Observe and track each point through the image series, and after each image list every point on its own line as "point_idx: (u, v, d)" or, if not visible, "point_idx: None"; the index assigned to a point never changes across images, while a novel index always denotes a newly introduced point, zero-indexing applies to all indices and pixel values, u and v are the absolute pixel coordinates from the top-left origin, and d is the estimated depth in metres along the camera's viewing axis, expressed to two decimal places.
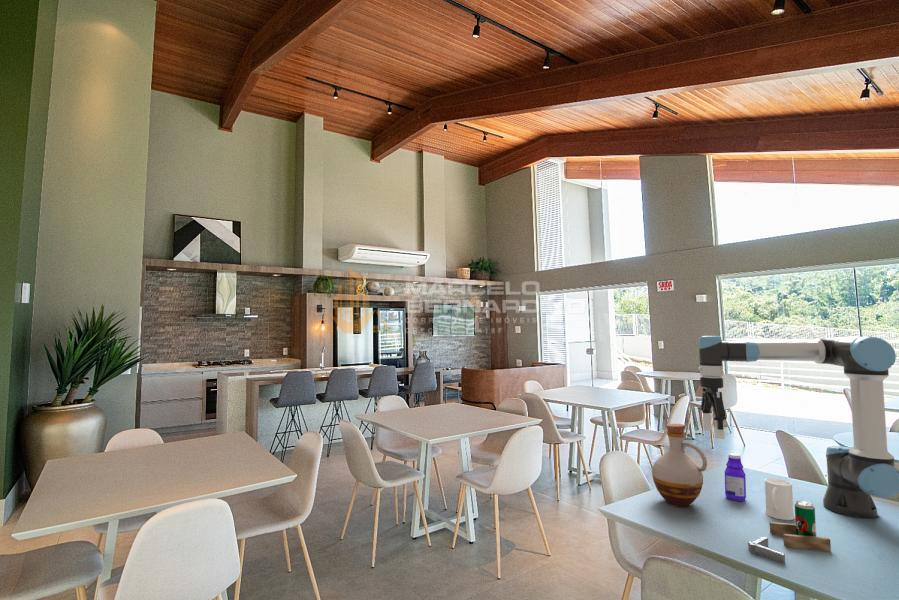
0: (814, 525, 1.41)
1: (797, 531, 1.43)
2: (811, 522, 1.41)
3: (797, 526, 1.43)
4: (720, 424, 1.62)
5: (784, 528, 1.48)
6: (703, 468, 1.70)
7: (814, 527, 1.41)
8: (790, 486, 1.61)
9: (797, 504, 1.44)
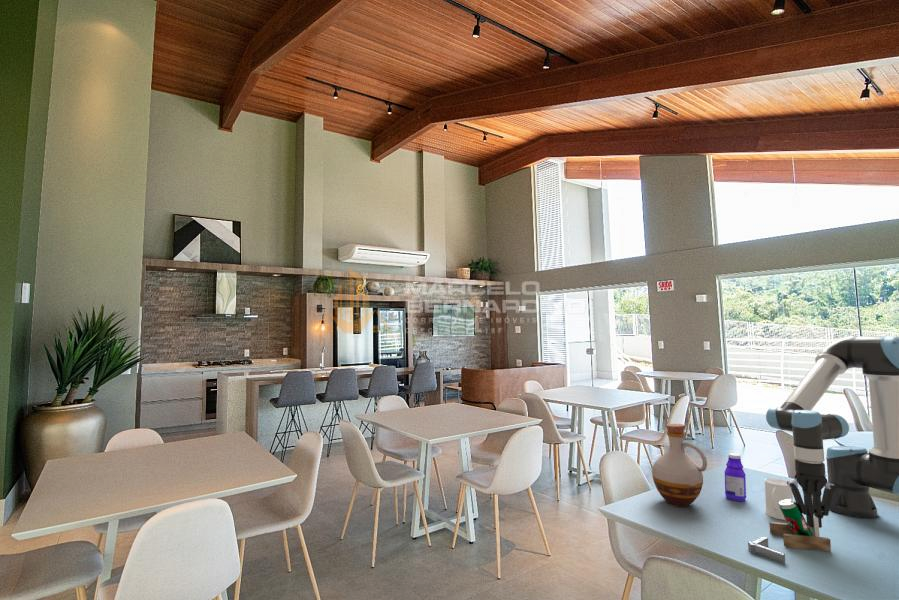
0: (803, 521, 1.41)
1: (792, 532, 1.43)
2: (799, 519, 1.41)
3: (790, 527, 1.44)
4: (807, 520, 1.43)
5: (784, 528, 1.48)
6: (703, 468, 1.70)
7: (804, 523, 1.41)
8: None
9: (780, 506, 1.45)
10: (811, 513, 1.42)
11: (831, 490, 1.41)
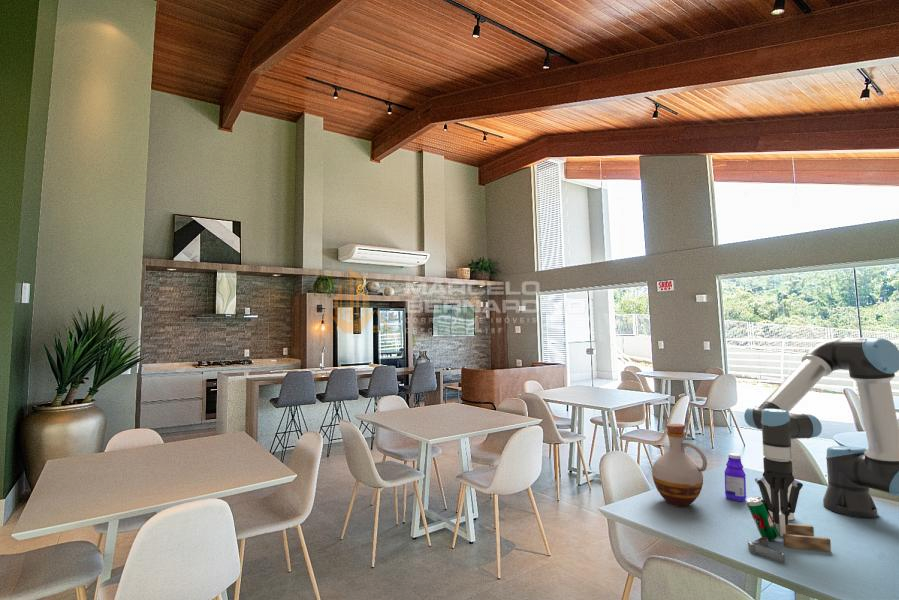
0: (769, 518, 1.44)
1: (758, 529, 1.45)
2: (766, 516, 1.43)
3: (756, 524, 1.46)
4: (773, 516, 1.45)
5: None
6: (703, 468, 1.70)
7: (770, 520, 1.43)
8: (790, 486, 1.61)
9: (748, 503, 1.47)
10: (777, 510, 1.44)
11: (798, 488, 1.43)
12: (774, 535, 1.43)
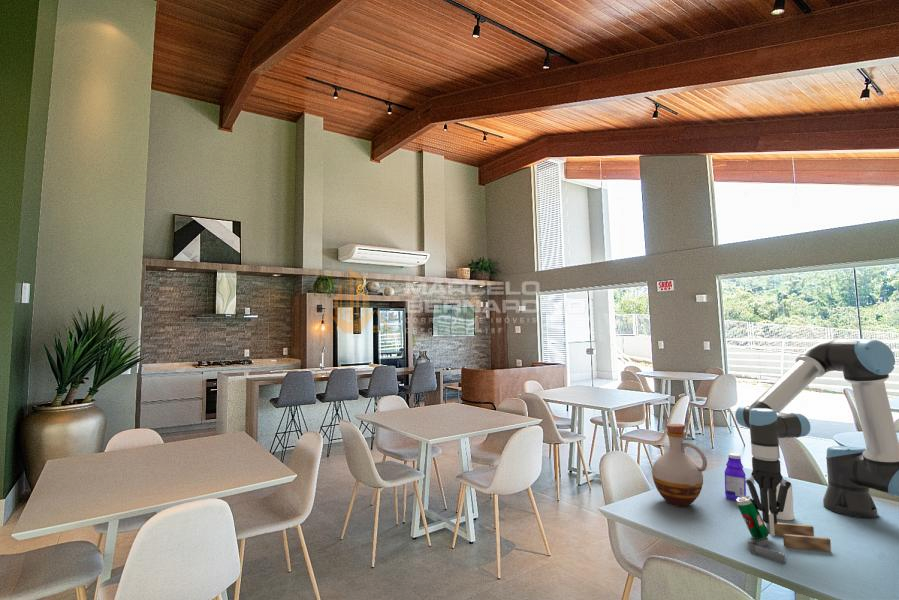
0: (759, 518, 1.44)
1: (748, 528, 1.46)
2: (755, 515, 1.44)
3: (746, 523, 1.46)
4: (763, 516, 1.46)
5: (784, 528, 1.48)
6: (703, 468, 1.70)
7: (760, 520, 1.44)
8: (790, 486, 1.61)
9: (737, 502, 1.47)
10: (766, 509, 1.44)
11: (786, 487, 1.44)
12: (764, 534, 1.43)
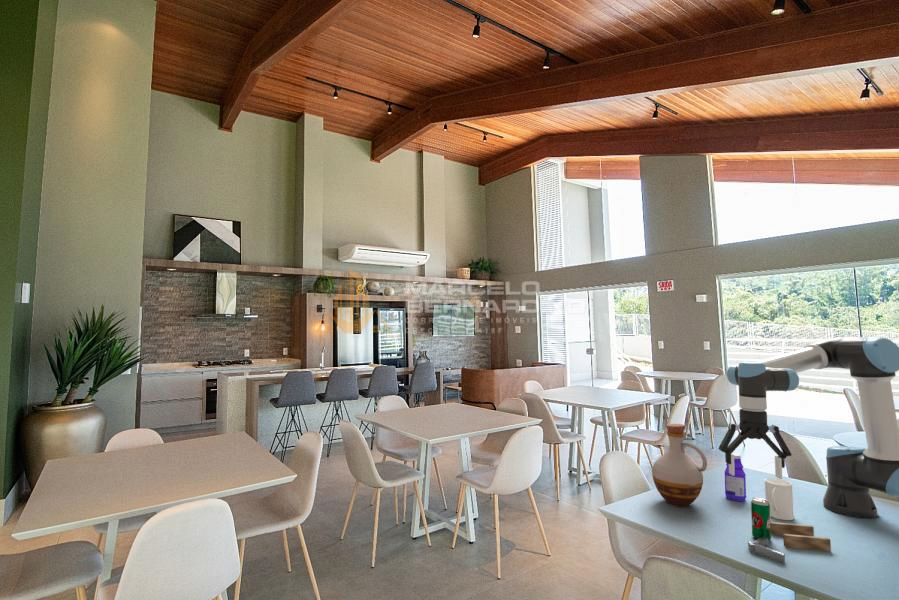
0: (769, 521, 1.44)
1: (753, 527, 1.46)
2: (766, 518, 1.43)
3: (753, 522, 1.46)
4: (726, 457, 1.49)
5: (784, 528, 1.48)
6: (703, 468, 1.70)
7: (769, 523, 1.44)
8: (790, 486, 1.61)
9: (753, 500, 1.46)
10: (730, 451, 1.48)
11: (777, 432, 1.46)
12: (767, 537, 1.43)
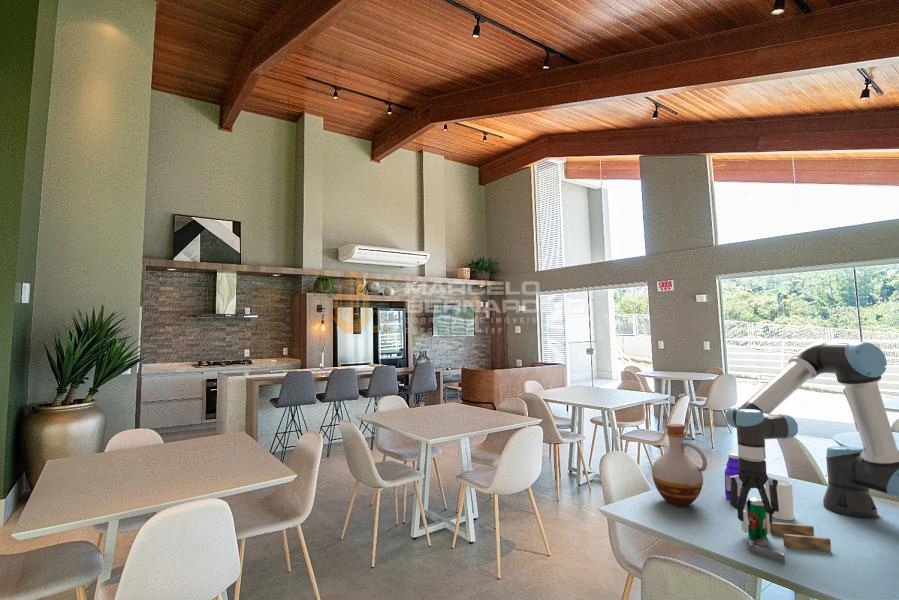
0: (765, 521, 1.44)
1: (749, 527, 1.46)
2: (762, 518, 1.43)
3: (749, 522, 1.46)
4: (738, 513, 1.48)
5: (784, 528, 1.48)
6: (703, 468, 1.70)
7: (765, 523, 1.44)
8: (790, 486, 1.61)
9: (749, 501, 1.46)
10: (742, 507, 1.46)
11: (774, 485, 1.45)
12: None
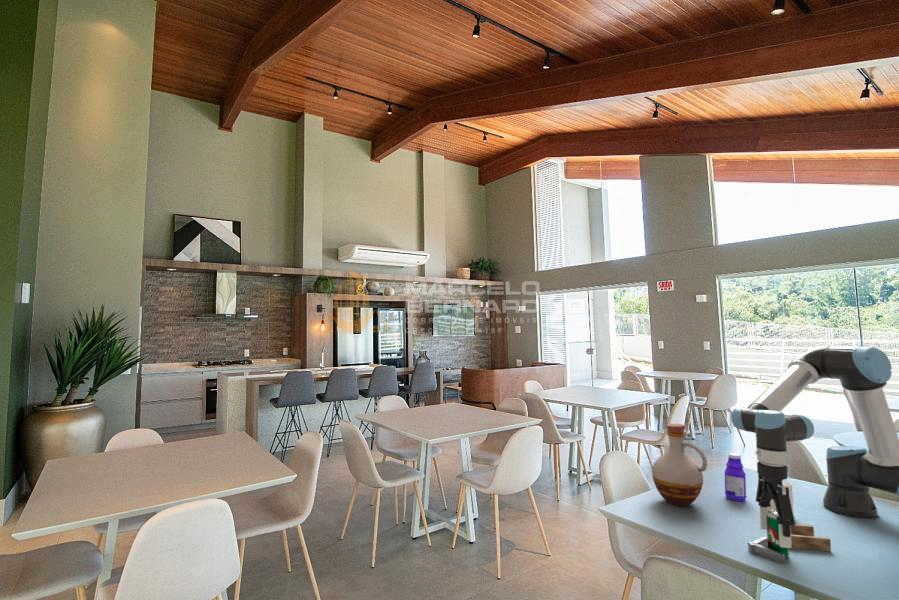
0: None
1: (783, 547, 1.32)
2: None
3: None
4: (786, 530, 1.28)
5: None
6: (703, 468, 1.70)
7: None
8: (790, 486, 1.61)
9: None
10: None
11: None
12: None
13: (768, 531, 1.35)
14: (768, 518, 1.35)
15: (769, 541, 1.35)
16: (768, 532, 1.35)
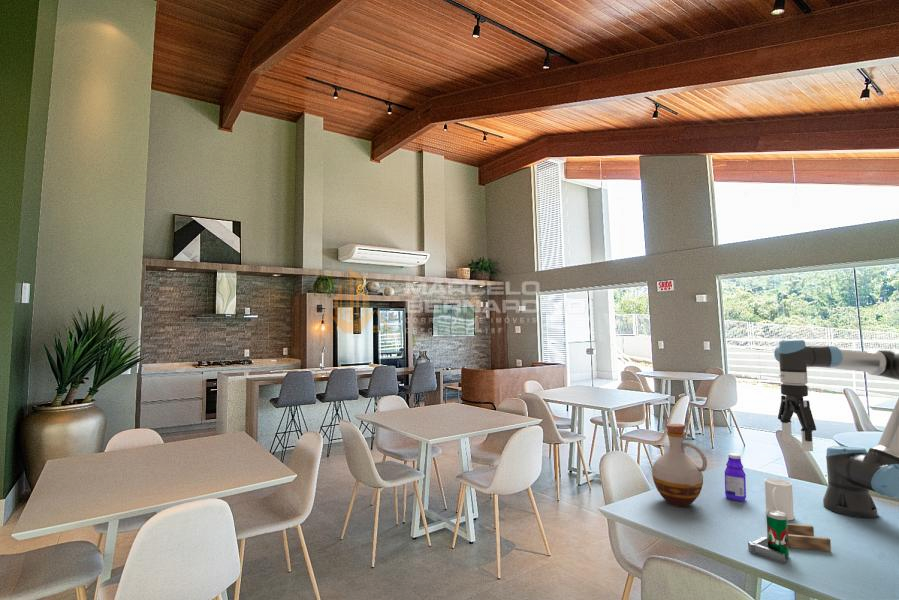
0: None
1: (783, 547, 1.32)
2: None
3: (784, 541, 1.33)
4: (809, 435, 1.50)
5: None
6: (703, 468, 1.70)
7: None
8: (790, 486, 1.61)
9: (781, 517, 1.33)
10: None
11: None
12: None
13: (768, 531, 1.35)
14: (768, 518, 1.35)
15: (769, 541, 1.35)
16: (768, 532, 1.35)
